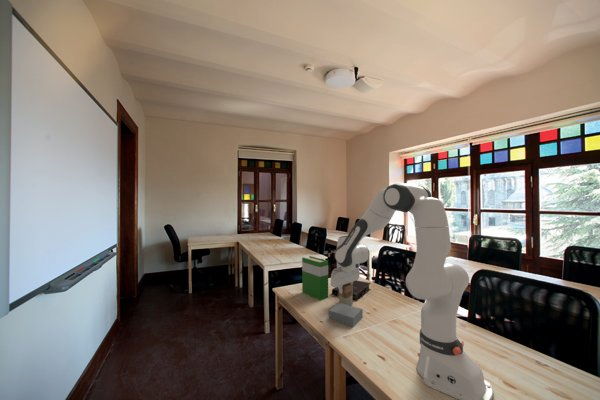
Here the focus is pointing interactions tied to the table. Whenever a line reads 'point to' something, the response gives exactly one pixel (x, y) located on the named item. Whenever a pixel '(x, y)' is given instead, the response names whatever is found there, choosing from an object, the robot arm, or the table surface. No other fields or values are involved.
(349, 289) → the walnut block
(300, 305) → the table surface
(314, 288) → the green cereal box
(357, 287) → the diary
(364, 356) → the table surface
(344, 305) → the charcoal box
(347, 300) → the travel mug
